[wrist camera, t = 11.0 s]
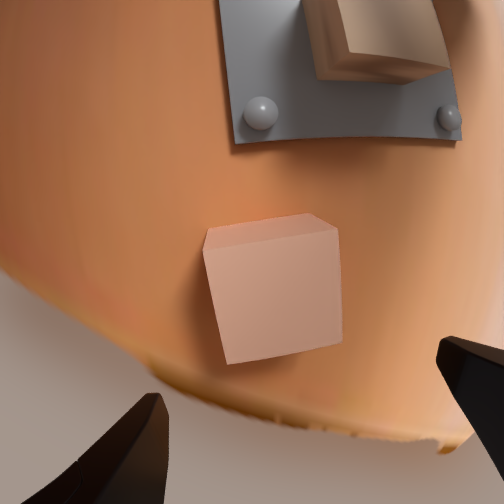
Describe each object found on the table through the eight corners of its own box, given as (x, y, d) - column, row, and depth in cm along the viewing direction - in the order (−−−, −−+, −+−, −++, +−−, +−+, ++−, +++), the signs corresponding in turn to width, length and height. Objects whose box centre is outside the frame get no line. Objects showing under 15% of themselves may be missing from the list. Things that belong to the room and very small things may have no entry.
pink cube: (308, 212, 18) (337, 229, 13) (316, 303, 20) (342, 342, 15) (208, 228, 18) (202, 250, 13) (225, 319, 20) (227, 364, 15)
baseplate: (423, -10, 14) (432, -16, 13) (457, 140, 17) (469, 140, 16) (215, -33, 13) (214, -44, 12) (235, 144, 17) (235, 142, 15)
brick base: (385, 8, 14) (422, -22, 9) (403, 85, 16) (450, 68, 11) (301, -2, 14) (323, -44, 9) (316, 80, 15) (349, 52, 10)
